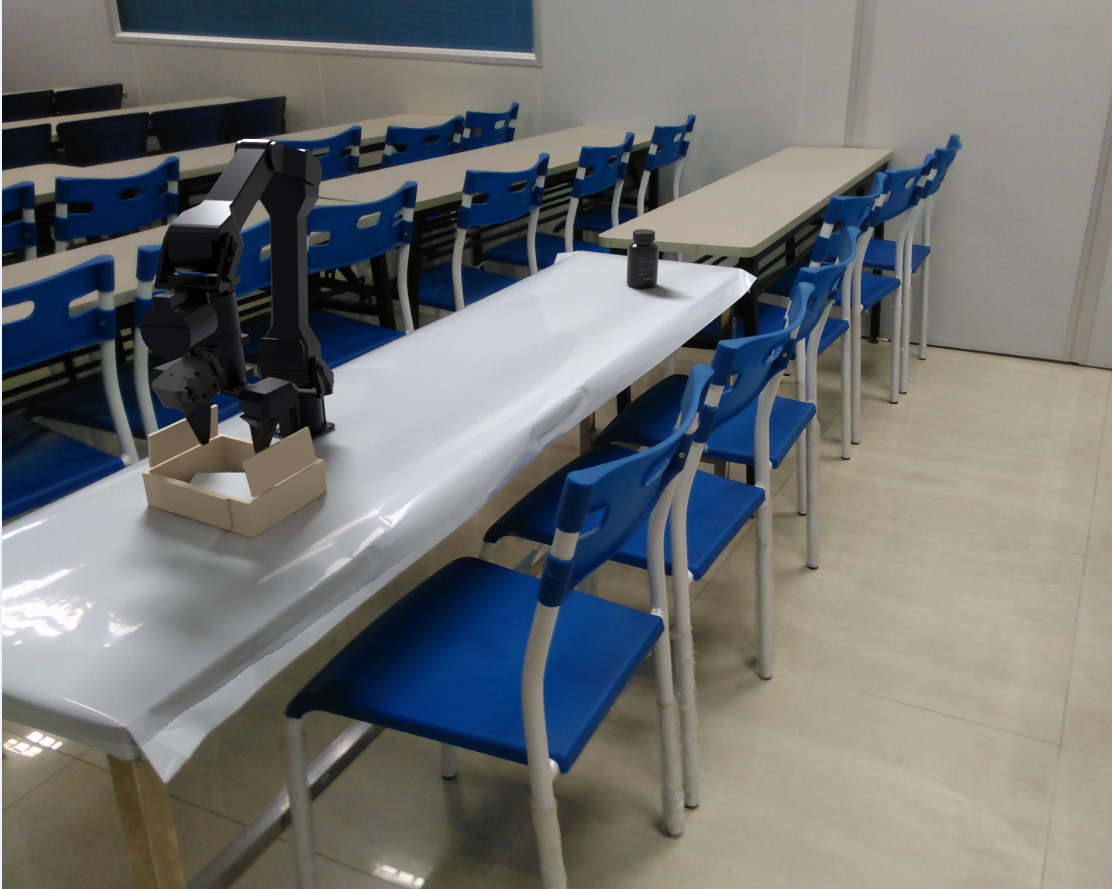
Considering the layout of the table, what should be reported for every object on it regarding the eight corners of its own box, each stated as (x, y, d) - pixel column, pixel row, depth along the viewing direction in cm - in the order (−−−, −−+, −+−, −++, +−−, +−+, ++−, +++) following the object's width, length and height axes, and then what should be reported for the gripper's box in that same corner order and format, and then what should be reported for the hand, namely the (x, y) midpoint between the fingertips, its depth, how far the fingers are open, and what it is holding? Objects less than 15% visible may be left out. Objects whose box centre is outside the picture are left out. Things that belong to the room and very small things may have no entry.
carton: (228, 462, 130) (224, 432, 128) (329, 490, 123) (325, 458, 121) (145, 506, 118) (138, 474, 116) (250, 539, 111) (245, 505, 109)
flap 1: (151, 467, 117) (149, 466, 117) (217, 435, 126) (215, 434, 126) (149, 436, 115) (147, 435, 115) (217, 405, 124) (215, 404, 124)
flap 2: (314, 460, 120) (316, 460, 119) (251, 497, 111) (254, 497, 111) (306, 426, 118) (308, 427, 118) (241, 461, 109) (244, 461, 109)
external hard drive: (198, 482, 124) (295, 481, 124) (178, 513, 116) (281, 512, 117) (196, 471, 123) (293, 470, 124) (176, 501, 116) (279, 500, 116)
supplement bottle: (621, 282, 215) (623, 228, 209) (649, 280, 216) (652, 227, 211) (633, 290, 209) (635, 235, 204) (661, 288, 210) (665, 233, 205)
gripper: (100, 337, 108) (125, 461, 115) (223, 364, 101) (242, 495, 107) (176, 312, 117) (196, 428, 124) (295, 335, 110) (308, 457, 116)
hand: (232, 451), depth 118 cm, fingers open, 9 cm apart
